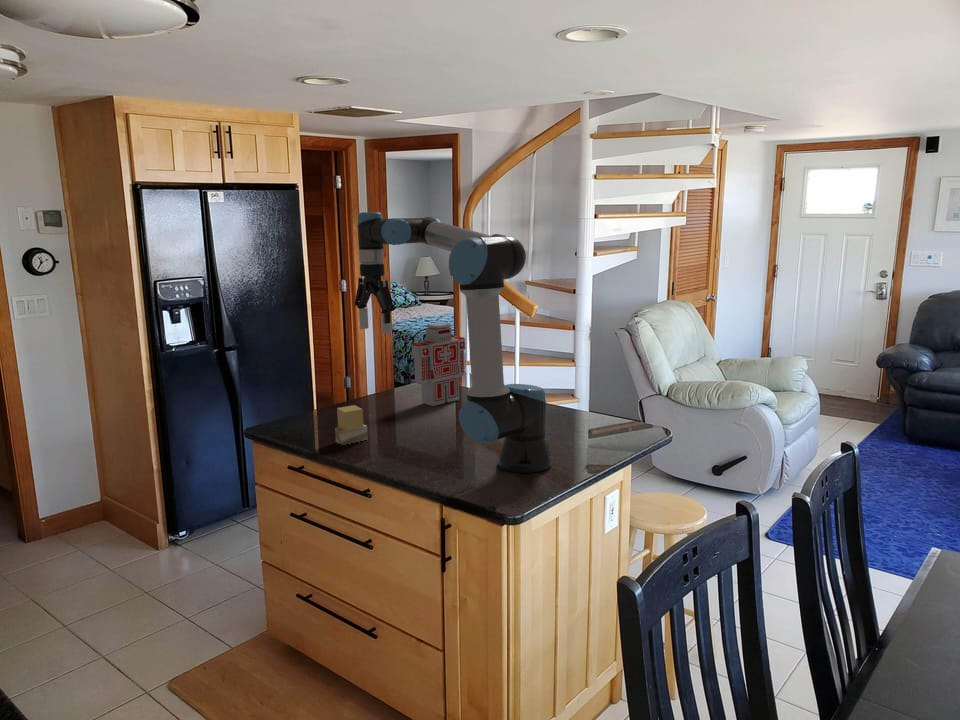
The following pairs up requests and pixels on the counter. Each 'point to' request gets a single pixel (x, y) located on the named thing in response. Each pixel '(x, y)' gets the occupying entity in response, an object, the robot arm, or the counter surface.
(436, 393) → the toy
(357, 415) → the ochre cube
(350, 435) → the birch plinth
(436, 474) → the counter surface
